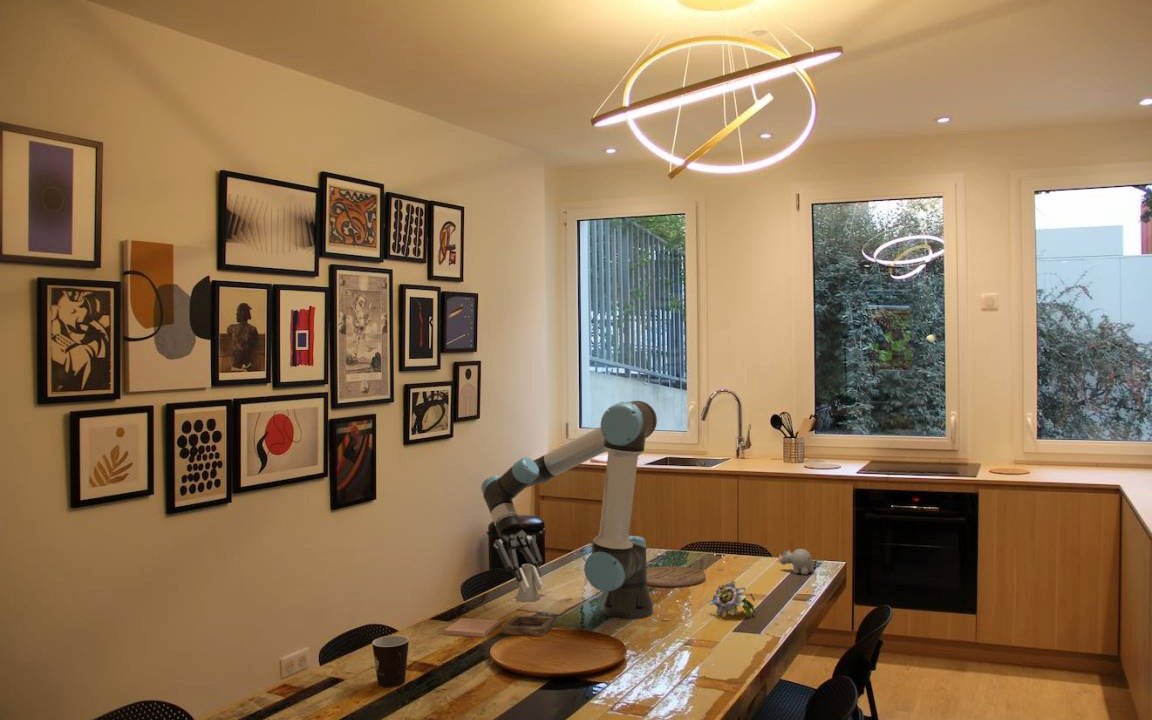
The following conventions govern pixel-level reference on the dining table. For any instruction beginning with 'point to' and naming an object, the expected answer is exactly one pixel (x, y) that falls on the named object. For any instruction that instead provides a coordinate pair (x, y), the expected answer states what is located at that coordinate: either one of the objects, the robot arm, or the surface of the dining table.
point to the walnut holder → (530, 631)
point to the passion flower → (731, 600)
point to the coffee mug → (390, 660)
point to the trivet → (674, 577)
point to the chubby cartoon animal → (798, 561)
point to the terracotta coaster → (471, 627)
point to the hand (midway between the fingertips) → (533, 588)
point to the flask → (532, 591)
